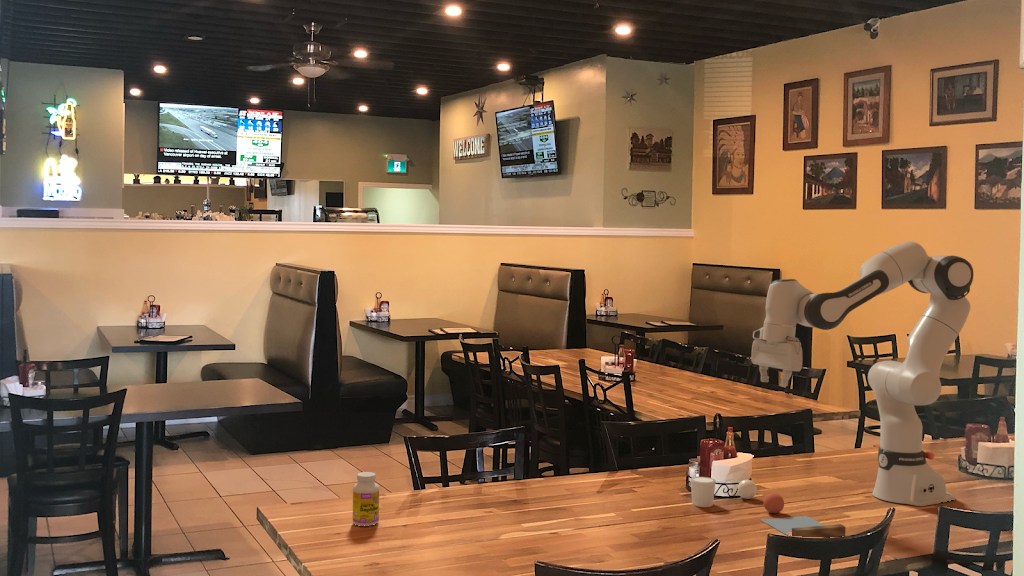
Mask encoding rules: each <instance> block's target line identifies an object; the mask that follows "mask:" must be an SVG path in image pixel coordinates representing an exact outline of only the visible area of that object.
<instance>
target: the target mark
mask: <svg viewBox="0 0 1024 576" xmlns="http://www.w3.org/2000/svg"><path fill="white" fill-rule="evenodd" d="M760 522H762V523H763V524H766V525H768V526H770V528H773V529H774V530H776V531H778V532H779V533H780V532H781V533H782V534H783V535H786V536H787V535H789V533H788V532H792V531H791V530H792V528H800V527H812V526H824V525H825V524H824V523H822V522H819V521H818V520H815V519H813V518H812V517H809V516H808V515H804V516H803V515H800V516H788V517H776V518H762V519H760ZM785 533H788V534H785Z"/></svg>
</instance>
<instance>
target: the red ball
mask: <svg viewBox="0 0 1024 576" xmlns="http://www.w3.org/2000/svg"><path fill="white" fill-rule="evenodd" d="M763 507H764V509H765V510H766V511H767V512H769V513H771V514H778V513H779V514H780V512H782V511H783V510H784V508H785V501H784V498H783V497H782V496H781V495H780V494H778V493H775V492H770V493H768V494H766V496H764V499H763Z"/></svg>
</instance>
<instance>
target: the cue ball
mask: <svg viewBox="0 0 1024 576" xmlns="http://www.w3.org/2000/svg"><path fill="white" fill-rule="evenodd" d="M738 484H739V485H738ZM738 484H737V487H738V490H737V494H738V495H739V496H740V497H741V498H742V499H744V500H749V499H753V498H755V496H756V494H757V492H758V487H757V485H756V483H755V482H753V481H752V480H751V479H743V480H741V481H740V482H738Z"/></svg>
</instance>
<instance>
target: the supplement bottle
mask: <svg viewBox="0 0 1024 576" xmlns="http://www.w3.org/2000/svg"><path fill="white" fill-rule="evenodd" d="M376 476H377V475H376V472H370V471H363V472H358V473H357V474H356V480H357V483H355V484H354V485H353V486H352V523H354V524H356V525H360V526H364V525H365V526H368V525H373V524H376V523H377V524H379V522H380V521H379V518H380V485H379V484H378V483H376V481H375V480H376ZM354 524H353V525H354ZM377 524H376V525H377ZM356 525H355V526H356Z"/></svg>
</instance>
